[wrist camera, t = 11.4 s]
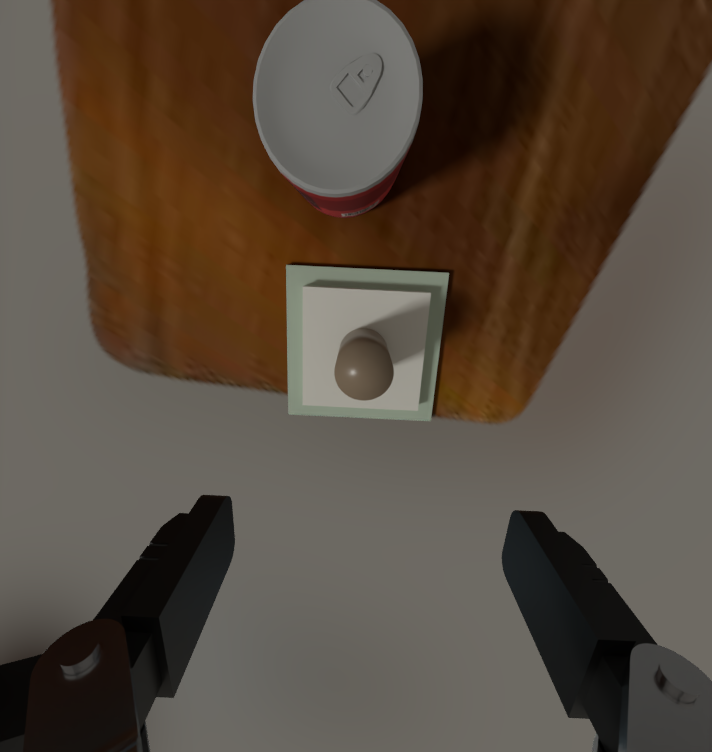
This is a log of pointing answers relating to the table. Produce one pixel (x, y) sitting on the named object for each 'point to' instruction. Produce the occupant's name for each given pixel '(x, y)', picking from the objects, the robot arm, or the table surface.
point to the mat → (369, 280)
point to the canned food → (338, 101)
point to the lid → (363, 347)
